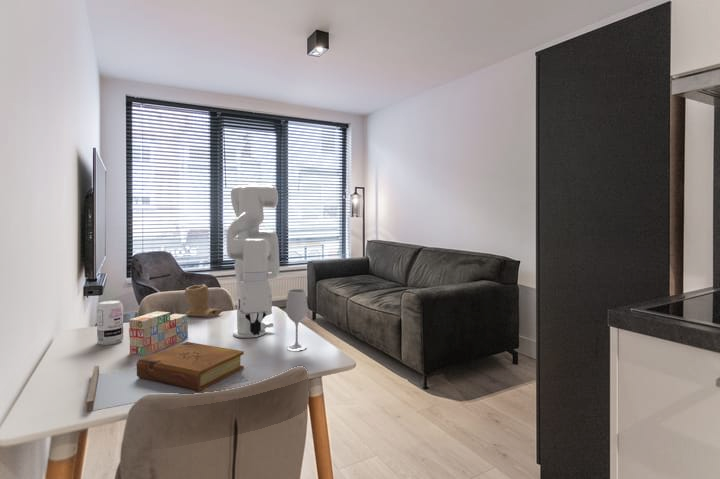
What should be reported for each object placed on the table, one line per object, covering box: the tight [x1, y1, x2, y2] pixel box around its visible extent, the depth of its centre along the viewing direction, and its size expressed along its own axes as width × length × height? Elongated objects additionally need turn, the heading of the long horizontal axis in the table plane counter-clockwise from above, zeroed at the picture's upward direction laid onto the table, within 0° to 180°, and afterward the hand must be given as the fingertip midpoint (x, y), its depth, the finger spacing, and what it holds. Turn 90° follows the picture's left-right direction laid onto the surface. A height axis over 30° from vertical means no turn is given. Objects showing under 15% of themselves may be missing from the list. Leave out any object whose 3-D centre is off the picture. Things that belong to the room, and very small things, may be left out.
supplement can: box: [96, 299, 124, 346], centre depth 148 cm, size 8×8×15 cm
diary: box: [136, 341, 245, 392], centre depth 119 cm, size 23×19×6 cm
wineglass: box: [285, 288, 308, 349], centre depth 143 cm, size 8×8×21 cm
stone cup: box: [184, 283, 223, 318], centre depth 188 cm, size 15×12×15 cm
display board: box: [86, 365, 248, 413], centre depth 116 cm, size 38×26×3 cm
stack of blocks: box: [128, 311, 189, 357], centre depth 144 cm, size 21×6×12 cm, turn 164°
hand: (255, 333), depth 127 cm, fingers closed
